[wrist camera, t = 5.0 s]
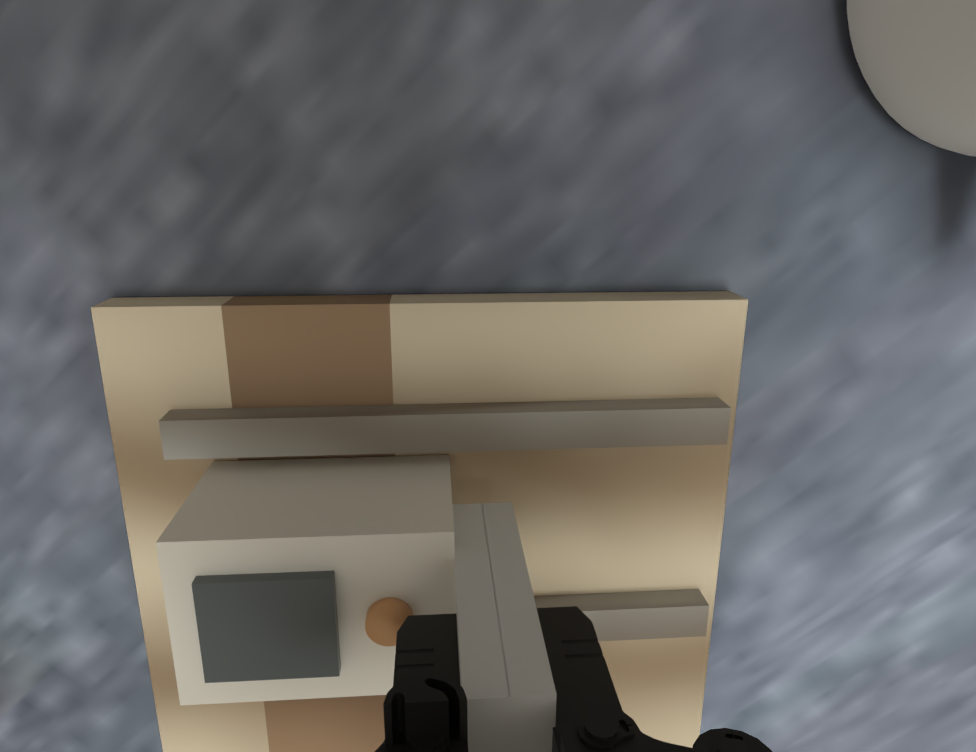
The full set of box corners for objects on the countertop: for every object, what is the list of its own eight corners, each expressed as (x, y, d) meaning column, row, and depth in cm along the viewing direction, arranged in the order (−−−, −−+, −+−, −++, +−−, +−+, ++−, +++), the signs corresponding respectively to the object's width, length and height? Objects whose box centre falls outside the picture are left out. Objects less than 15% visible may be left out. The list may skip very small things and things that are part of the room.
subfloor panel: (112, 297, 18) (74, 314, 16) (729, 291, 19) (762, 305, 17) (202, 888, 24) (183, 951, 22) (670, 854, 25) (690, 912, 23)
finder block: (213, 460, 18) (150, 550, 14) (449, 454, 19) (455, 539, 15) (229, 597, 19) (175, 716, 15) (451, 587, 20) (456, 700, 16)
